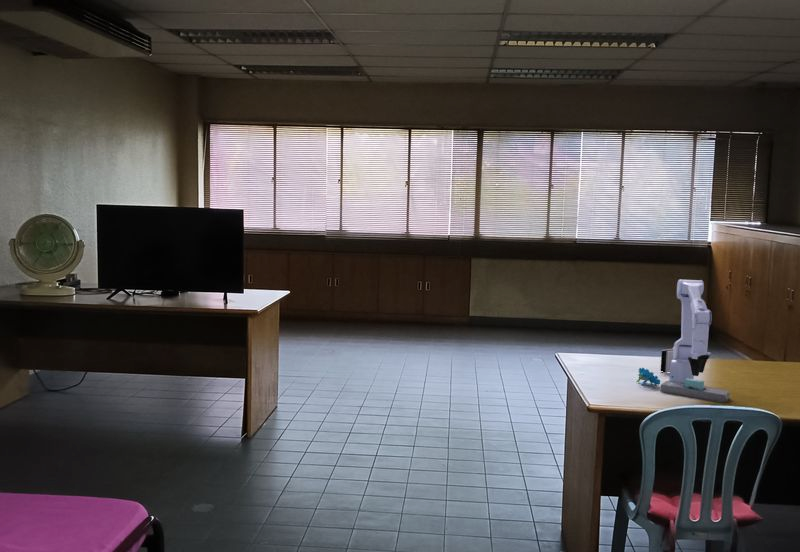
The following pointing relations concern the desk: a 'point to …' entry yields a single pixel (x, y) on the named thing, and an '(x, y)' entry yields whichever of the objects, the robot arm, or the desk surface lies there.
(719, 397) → the grey board with slots
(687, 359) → the robot arm
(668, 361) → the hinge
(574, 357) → the desk surface
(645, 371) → the blue lumpy piece
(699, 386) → the upright aqua box
